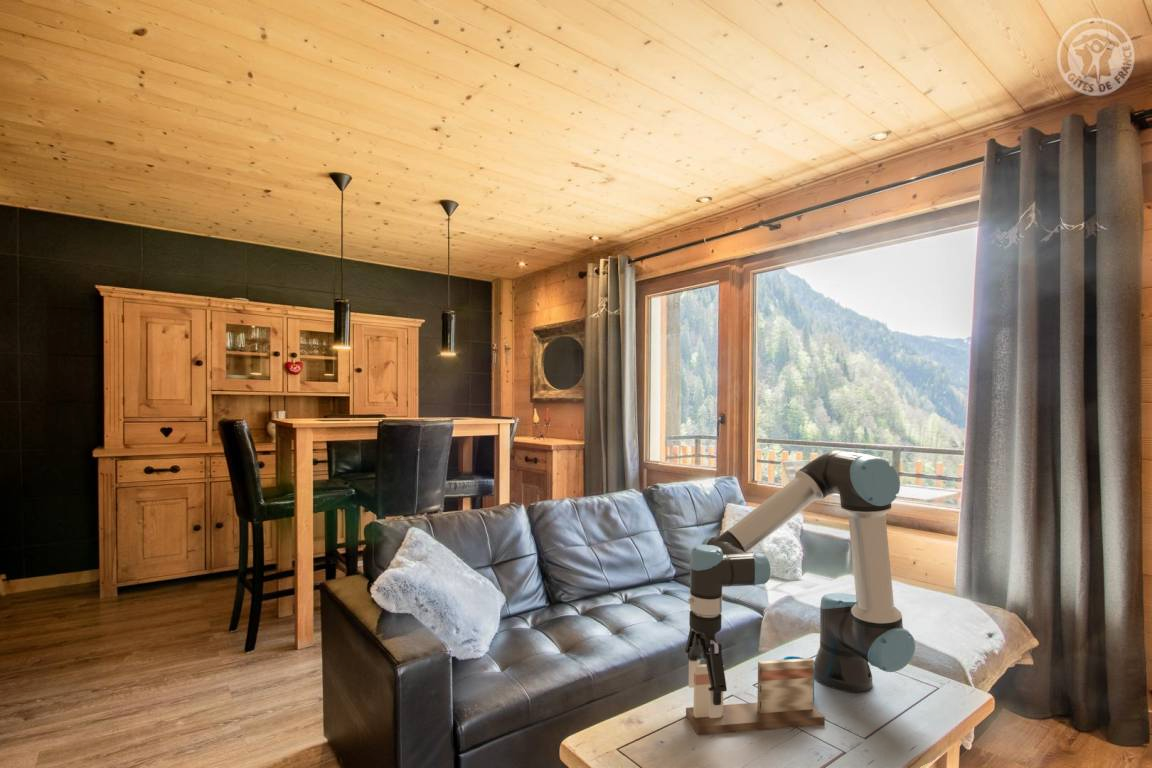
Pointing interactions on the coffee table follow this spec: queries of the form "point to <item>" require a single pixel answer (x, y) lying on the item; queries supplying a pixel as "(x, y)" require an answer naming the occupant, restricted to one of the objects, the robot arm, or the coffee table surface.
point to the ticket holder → (769, 702)
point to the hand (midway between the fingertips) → (704, 701)
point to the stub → (702, 691)
